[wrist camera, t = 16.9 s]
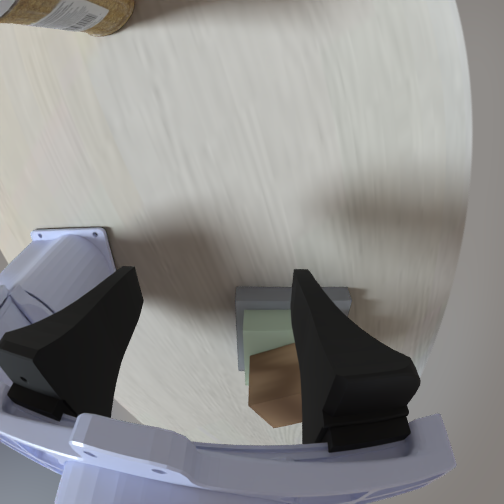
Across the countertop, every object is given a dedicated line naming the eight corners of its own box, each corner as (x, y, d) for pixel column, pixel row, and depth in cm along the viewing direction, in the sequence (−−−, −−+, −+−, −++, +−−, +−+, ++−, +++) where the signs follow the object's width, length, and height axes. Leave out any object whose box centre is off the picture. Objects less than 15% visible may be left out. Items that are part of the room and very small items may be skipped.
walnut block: (272, 383, 27) (273, 428, 22) (249, 355, 24) (248, 405, 20) (321, 369, 25) (329, 415, 21) (305, 339, 23) (312, 390, 19)
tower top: (246, 365, 29) (245, 385, 27) (244, 309, 25) (242, 330, 23) (322, 364, 29) (325, 383, 27) (336, 308, 25) (342, 328, 23)
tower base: (239, 353, 32) (238, 370, 30) (237, 282, 27) (235, 300, 24) (327, 352, 32) (331, 369, 29) (345, 283, 26) (351, 300, 24)
